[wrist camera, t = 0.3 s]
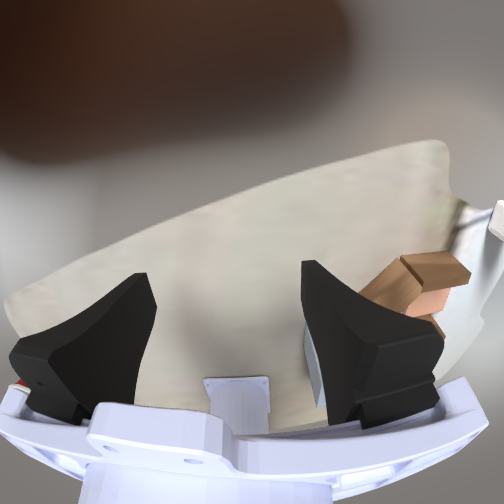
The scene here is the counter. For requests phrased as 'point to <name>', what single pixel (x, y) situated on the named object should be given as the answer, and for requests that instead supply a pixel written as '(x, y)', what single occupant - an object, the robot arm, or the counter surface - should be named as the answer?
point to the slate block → (314, 369)
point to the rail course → (415, 280)
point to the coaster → (427, 303)
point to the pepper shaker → (497, 220)
